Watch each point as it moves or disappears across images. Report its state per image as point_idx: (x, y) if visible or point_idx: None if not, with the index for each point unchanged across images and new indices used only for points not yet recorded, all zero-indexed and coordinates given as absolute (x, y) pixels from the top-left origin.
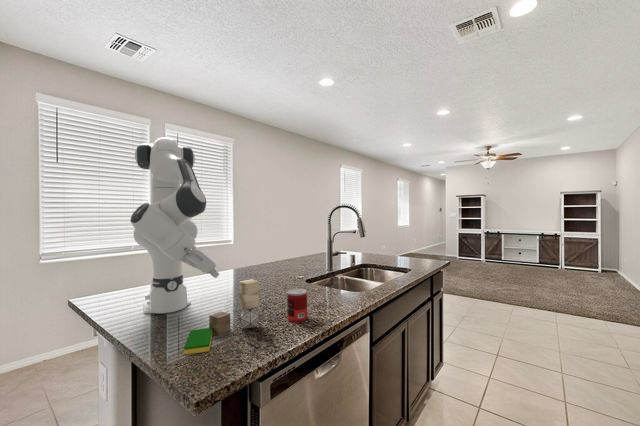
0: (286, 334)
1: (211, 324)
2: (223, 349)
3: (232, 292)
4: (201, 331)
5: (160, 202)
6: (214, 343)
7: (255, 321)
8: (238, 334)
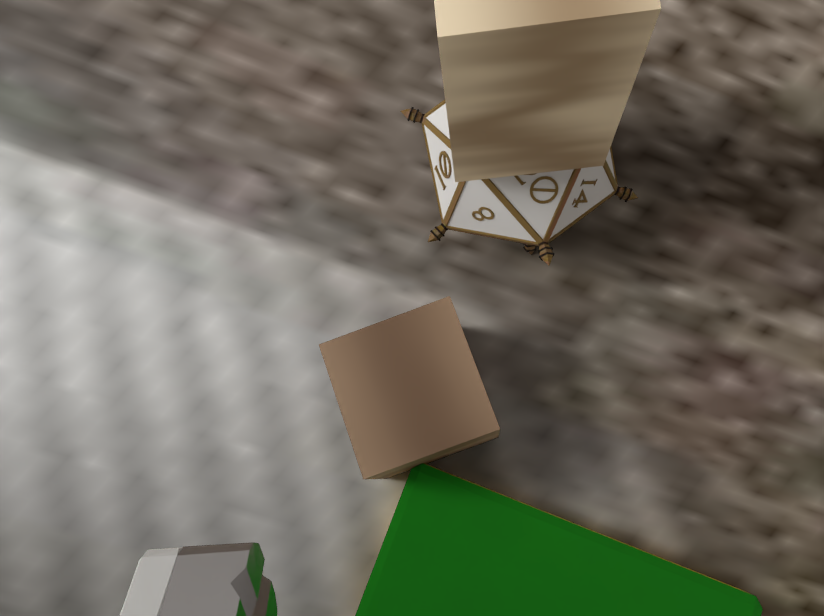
0: (803, 20)
1: (405, 467)
2: (785, 495)
3: None
4: (446, 569)
5: None
6: (633, 515)
7: None
8: (579, 304)
